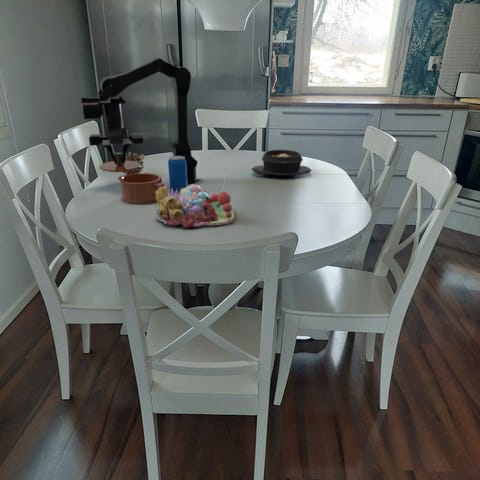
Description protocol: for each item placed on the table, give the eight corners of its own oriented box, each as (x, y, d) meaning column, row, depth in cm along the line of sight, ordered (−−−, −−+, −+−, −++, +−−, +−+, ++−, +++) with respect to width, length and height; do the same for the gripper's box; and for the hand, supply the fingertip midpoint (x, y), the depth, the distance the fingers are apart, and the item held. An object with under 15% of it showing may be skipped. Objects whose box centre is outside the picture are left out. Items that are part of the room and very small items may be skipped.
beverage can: (184, 194, 164) (182, 160, 158) (167, 193, 165) (165, 159, 159) (190, 189, 170) (188, 156, 163) (173, 188, 171) (171, 155, 164)
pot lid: (130, 162, 177) (128, 147, 174) (148, 169, 167) (146, 154, 164) (93, 167, 169) (91, 152, 166) (109, 175, 159) (107, 159, 156)
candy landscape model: (165, 233, 130) (163, 202, 125) (146, 210, 149) (143, 181, 144) (245, 222, 139) (245, 192, 134) (217, 201, 157) (216, 174, 152)
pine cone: (140, 181, 179) (137, 155, 174) (116, 181, 179) (113, 155, 174) (152, 168, 198) (150, 144, 192) (130, 168, 198) (128, 144, 193)
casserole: (252, 179, 182) (253, 158, 177) (250, 168, 198) (251, 148, 193) (314, 179, 183) (316, 158, 178) (307, 168, 198) (309, 148, 194)
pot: (136, 189, 169) (134, 170, 166) (176, 197, 160) (175, 177, 157) (108, 198, 159) (105, 178, 156) (149, 208, 150) (147, 187, 147)
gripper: (84, 122, 151) (92, 170, 159) (141, 120, 154) (146, 167, 162) (86, 117, 160) (94, 163, 168) (140, 116, 163) (145, 160, 171)
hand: (119, 163), depth 167 cm, fingers closed on pot lid, 3 cm apart
